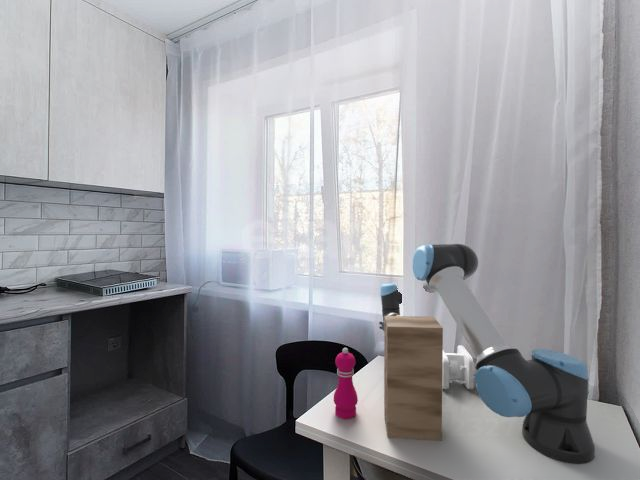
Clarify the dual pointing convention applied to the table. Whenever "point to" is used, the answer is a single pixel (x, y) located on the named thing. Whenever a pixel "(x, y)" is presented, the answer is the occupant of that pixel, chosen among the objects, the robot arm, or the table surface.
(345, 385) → the pepper mill
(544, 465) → the table surface
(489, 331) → the robot arm
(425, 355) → the walnut stand
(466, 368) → the cable organizer
